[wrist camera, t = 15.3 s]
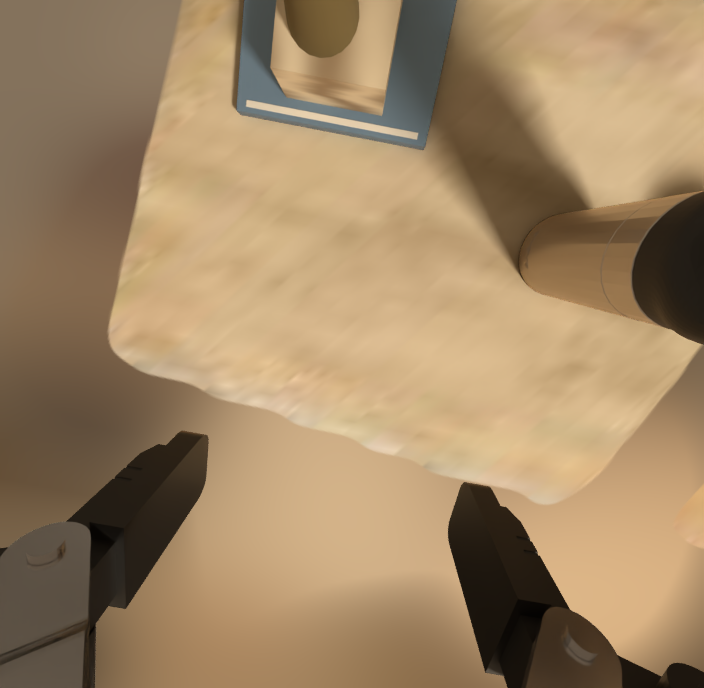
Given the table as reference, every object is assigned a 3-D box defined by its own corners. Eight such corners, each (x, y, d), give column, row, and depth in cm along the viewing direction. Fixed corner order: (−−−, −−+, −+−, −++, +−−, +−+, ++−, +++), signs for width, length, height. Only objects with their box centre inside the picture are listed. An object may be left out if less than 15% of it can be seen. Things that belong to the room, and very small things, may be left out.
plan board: (457, -11, 32) (461, -22, 31) (423, 150, 36) (425, 146, 35) (252, -53, 32) (248, -65, 31) (240, 114, 36) (236, 110, 35)
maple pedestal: (403, -5, 31) (412, -61, 26) (382, 116, 34) (385, 90, 29) (299, -26, 31) (284, -87, 26) (286, 97, 34) (270, 67, 28)
